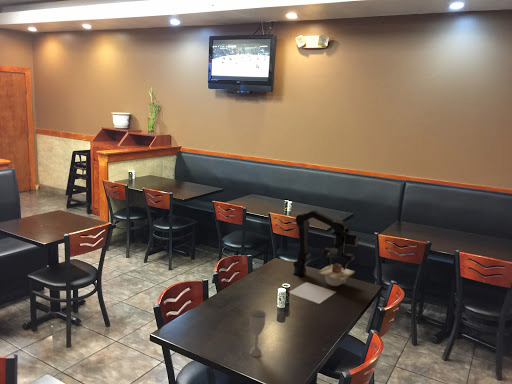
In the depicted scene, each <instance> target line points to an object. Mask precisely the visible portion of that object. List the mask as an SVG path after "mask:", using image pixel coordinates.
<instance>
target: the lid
mask: <svg viewBox="0 0 512 384" xmlns="http://www.w3.org/2000/svg"><path fill="white" fill-rule="evenodd" d="M317 273H318V274H321V275H323V276H326V275H327V276H330V277H333V278H336V279H339V280H342V281H344V279H346V280H347V278H349V277H351V276H353V274H355V273H356V272H355V270H351V269H348V268H346V269H345V270H344V267H343V265H342V264H340V263H334V264H332V263H331V266H329V265H327V266H325V267H323V268H322V269H320V270H318V271H317Z"/></svg>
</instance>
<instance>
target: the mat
mask: <svg viewBox="0 0 512 384" xmlns="http://www.w3.org/2000/svg"><path fill="white" fill-rule="evenodd" d="M289 292H290V293H289V294H290V295H294V296H296V297H300V298H302V299H304V300H308V301H311V302H314V303H315V304H319V305H320V304H321V303H322V302H324V301H326V300H327V299H329V298H330V297H332V296H333V295H335V294H336V293H337V291H334V290H332V289H329V288H326V287H323V286H319V285H316V284H313V283H310V282H307V281H305V282H304V283H302V284H301V285H299V286H297V287H295V288H293V289H291V290H289Z"/></svg>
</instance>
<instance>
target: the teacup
mask: <svg viewBox="0 0 512 384" xmlns="http://www.w3.org/2000/svg"><path fill="white" fill-rule="evenodd" d="M324 281H325V282H326V283H327V285H329V286H331V287H338V286H340V285H342V284H345V283H346V281H347V278H346V279H344V280H343V281H342V280H339V279H336V278H333V277H330V276H327V275H325V280H324Z"/></svg>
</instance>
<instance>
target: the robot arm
mask: <svg viewBox="0 0 512 384" xmlns="http://www.w3.org/2000/svg"><path fill="white" fill-rule="evenodd" d="M310 219H315V220H317V221H318V222H319V221H320V222H321V223H323V224H325V225H327V226H329V227H330V228H331V229H332V230H334V231H333V232H331V235H334V244H332V247H327V246H326V247H325V248H323V249H322V250H321V253H322V255H324V256H325V257H326V259H327V261H328V262H327V263H328V266H331V264H332V263H333V262H332V261H333V259H338V257H339V258H341V257H342V258H344V260H343V262H344V263H343V268H344V270H345V269H347V266H348V265H349V263H350V262H352V261H354V260H355V259H356V256H355V254H354V253H345V247H346V245H347V246H352V247H355V248H356V247H357V246H358V244H359V238H358V234H353V233H351V231H350V229H349V228H348V224H347V222H346V221H343V220H340V219H334V218H332V217H330V216H328V215H325V214H324V213H322V212H319V211H317V210H316V209H315V210H311V211H310V212H308V213H305V212H303V213H300V214H298V215H296V217H295V223H296V226H297V228H298V241H299V245H298V246H299V251H298V254H297V259H296V261H295V262H293V264H292V265H293V267H294V271H293V273H292V275H293V276H295V277H297V278H298V277H299V278H303V277H305V276H307V269H306V268H307V267H306V266H307V264H308V263H310V261H311V259H312V258H311V252H309V251H308V239H307V238H308V237H307V235H308V234H307V227H308V224H309V220H310Z"/></svg>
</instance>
